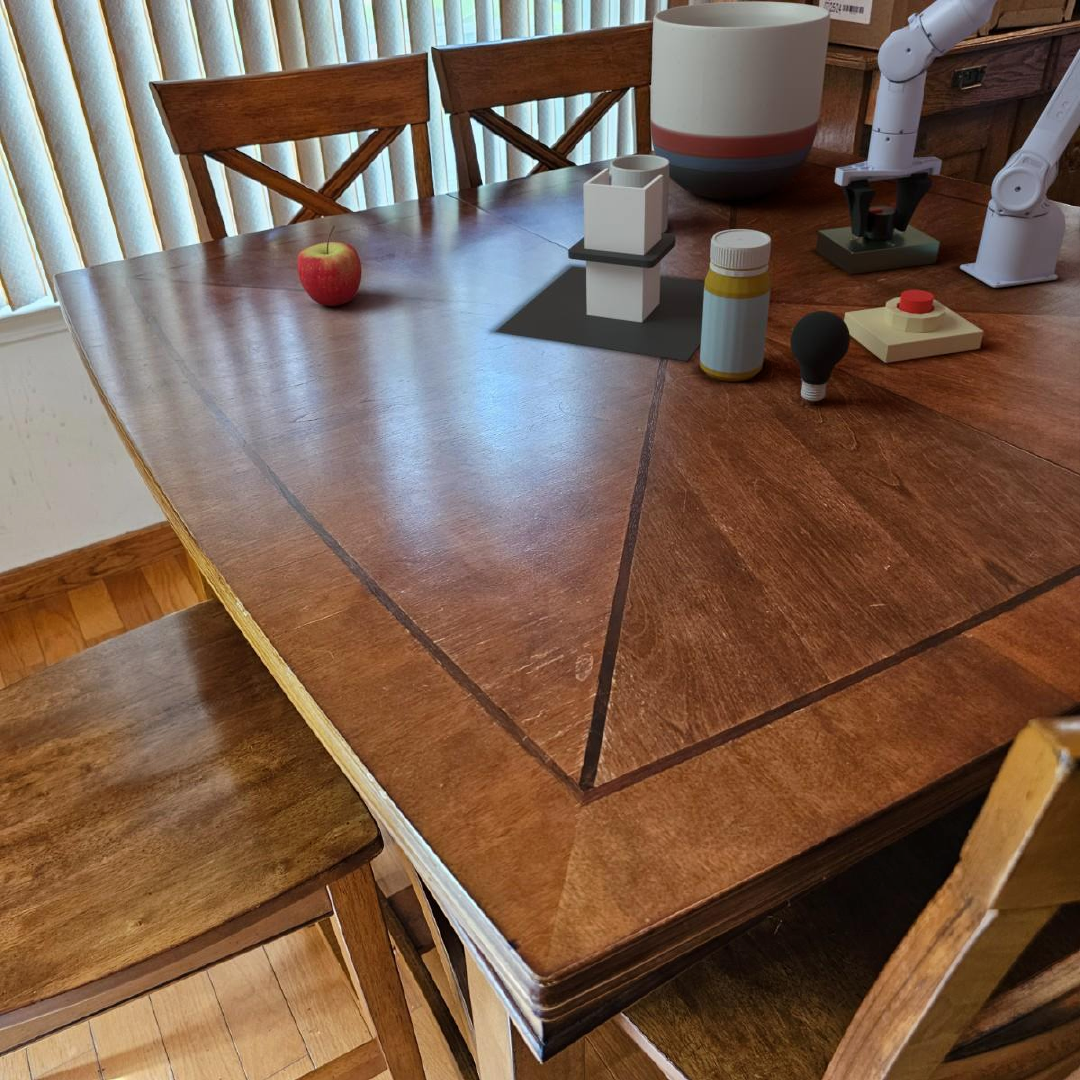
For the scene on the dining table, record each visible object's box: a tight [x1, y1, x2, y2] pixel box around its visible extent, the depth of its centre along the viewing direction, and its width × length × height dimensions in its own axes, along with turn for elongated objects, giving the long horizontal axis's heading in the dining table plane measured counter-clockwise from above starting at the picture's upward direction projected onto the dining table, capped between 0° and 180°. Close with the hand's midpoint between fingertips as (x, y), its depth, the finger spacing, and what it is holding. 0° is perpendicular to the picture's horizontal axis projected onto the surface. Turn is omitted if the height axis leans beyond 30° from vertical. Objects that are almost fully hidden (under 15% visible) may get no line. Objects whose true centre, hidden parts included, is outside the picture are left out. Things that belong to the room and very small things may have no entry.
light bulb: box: [789, 310, 851, 404], centre depth 102 cm, size 6×6×10 cm
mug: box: [609, 154, 670, 233], centre depth 150 cm, size 11×10×10 cm
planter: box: [649, 1, 831, 201], centre depth 159 cm, size 27×27×27 cm
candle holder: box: [495, 167, 705, 362], centre depth 123 cm, size 25×24×16 cm
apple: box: [296, 224, 362, 307], centre depth 130 cm, size 8×8×10 cm
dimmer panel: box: [815, 223, 941, 276], centre depth 138 cm, size 13×10×3 cm
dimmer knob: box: [864, 205, 897, 240], centre depth 136 cm, size 4×4×4 cm
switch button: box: [899, 289, 935, 314], centre depth 114 cm, size 4×4×2 cm
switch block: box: [843, 296, 984, 364], centre depth 115 cm, size 12×10×4 cm
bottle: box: [699, 228, 772, 382], centre depth 107 cm, size 7×7×15 cm
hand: (878, 232), depth 137 cm, fingers open, 6 cm apart
